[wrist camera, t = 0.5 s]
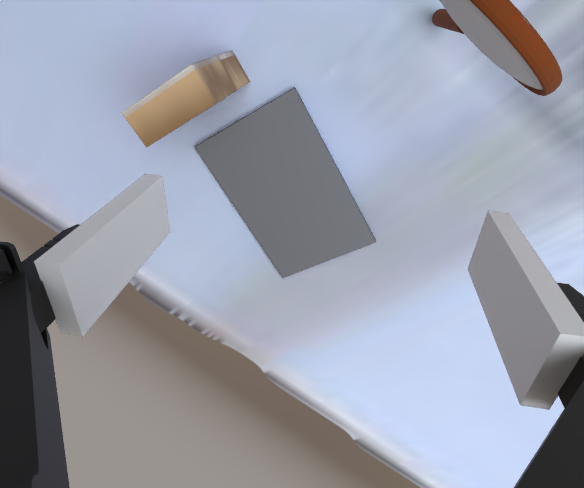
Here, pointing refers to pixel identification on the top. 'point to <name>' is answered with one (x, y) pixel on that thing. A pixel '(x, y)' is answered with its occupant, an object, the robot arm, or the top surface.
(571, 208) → the top surface
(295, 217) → the mat
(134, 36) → the top surface
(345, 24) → the top surface
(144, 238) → the robot arm
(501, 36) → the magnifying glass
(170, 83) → the wooden block
